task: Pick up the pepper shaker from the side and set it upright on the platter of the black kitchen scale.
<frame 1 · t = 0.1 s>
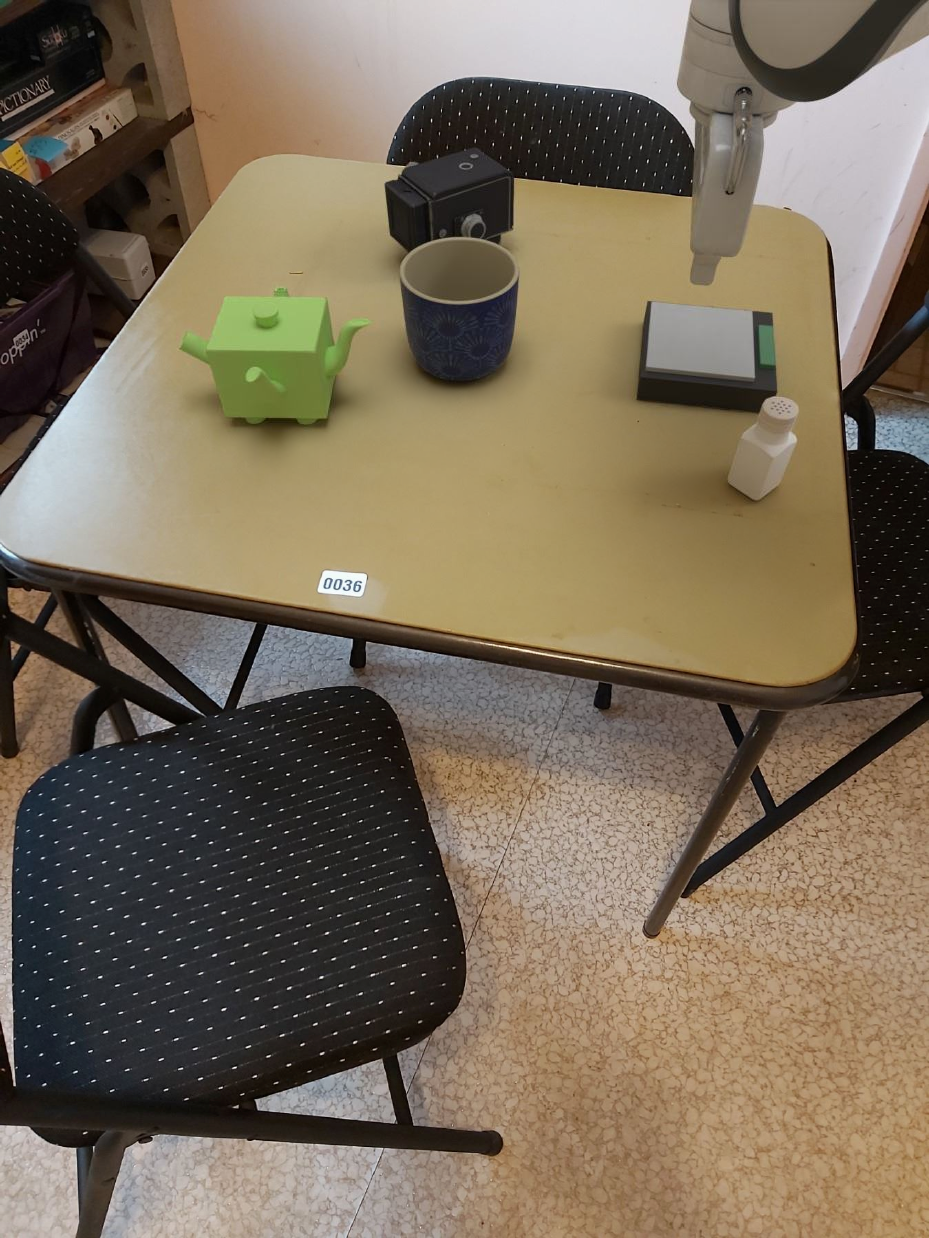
hand: (701, 249, 70), 21 cm above the table, tool pointing down, fingers open, 8 cm apart
planter: (460, 359, 95), on the table
camera: (451, 256, 108), on the table
scale: (703, 366, 94), on the table
pepper shaker: (751, 485, 83), on the table
kettle: (287, 405, 90), on the table
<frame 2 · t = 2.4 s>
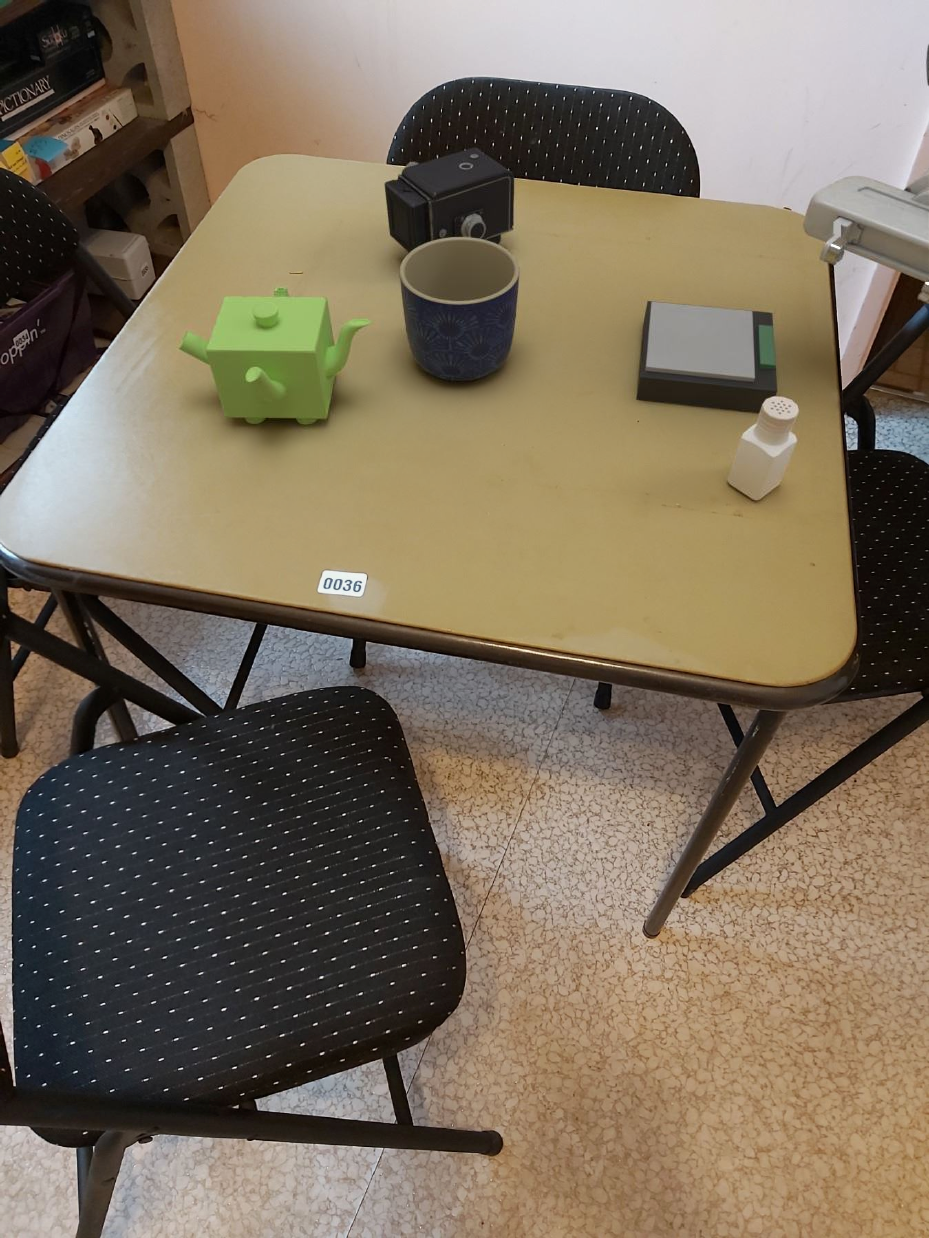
hand: (876, 274, 74), 17 cm above the table, tool horizontal, fingers open, 8 cm apart
nothing on the table moved.
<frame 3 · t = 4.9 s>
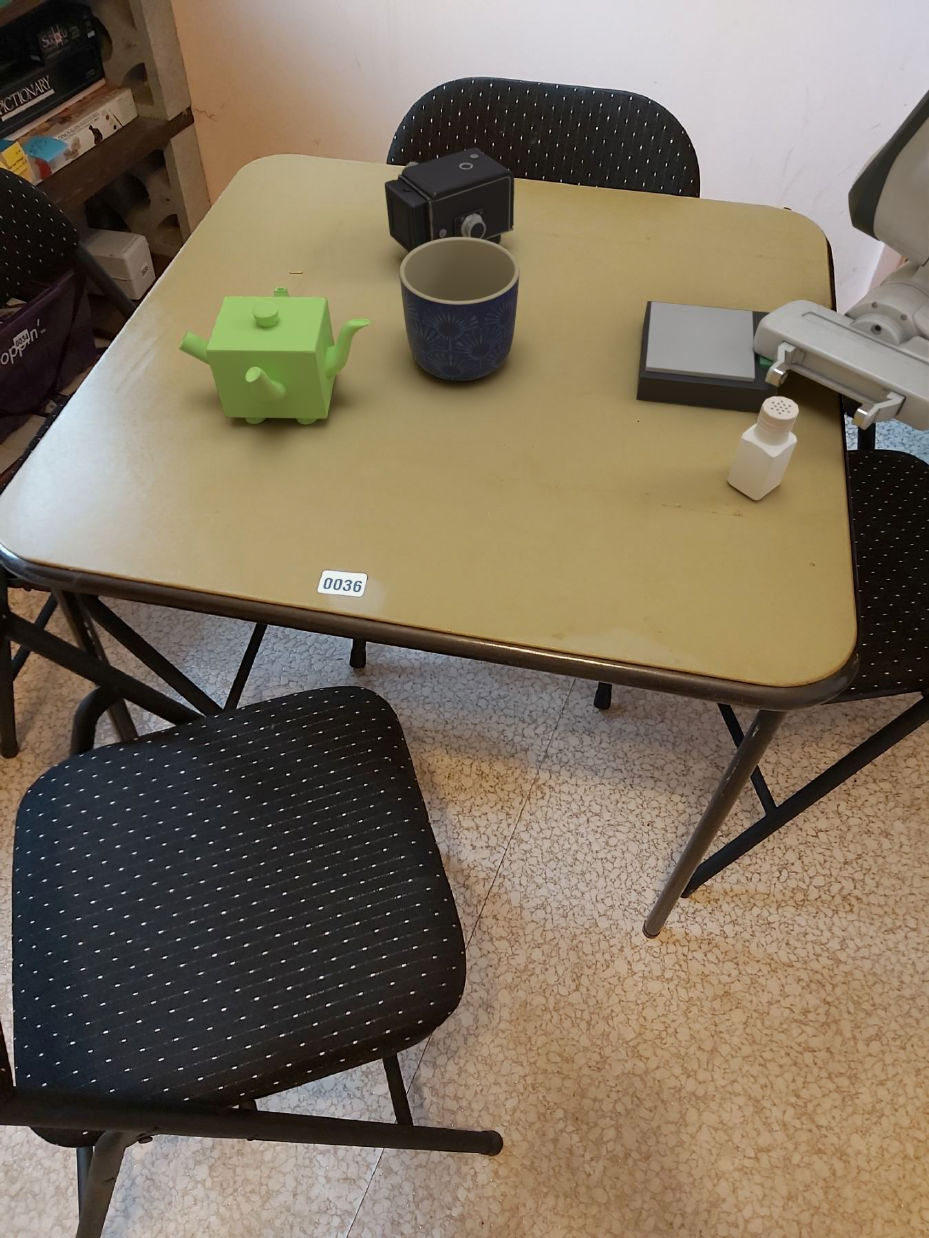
hand: (815, 399, 82), 5 cm above the table, tool horizontal, fingers open, 8 cm apart
nothing on the table moved.
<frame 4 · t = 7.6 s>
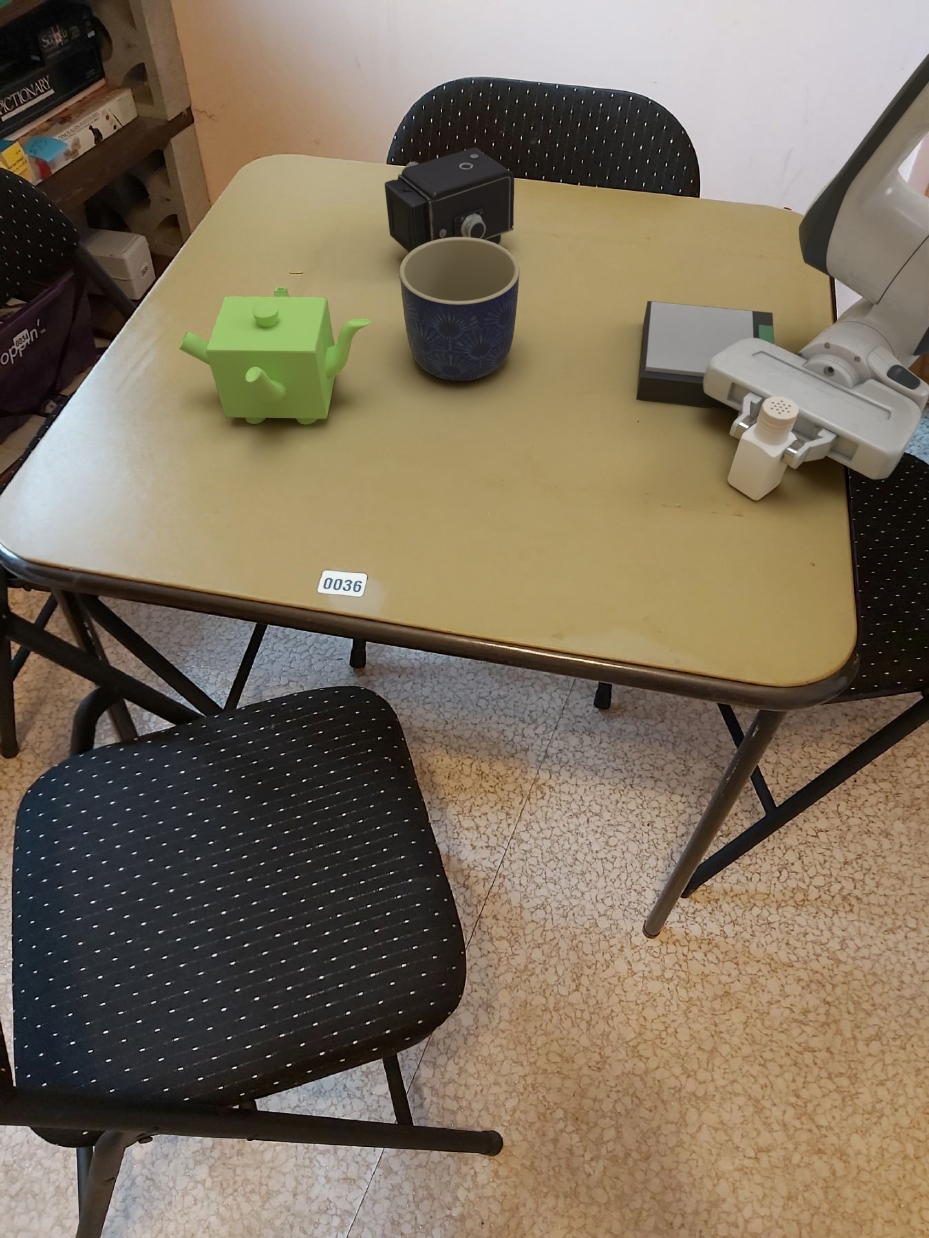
hand: (763, 446, 78), 6 cm above the table, tool horizontal, fingers closed on pepper shaker, 4 cm apart
pepper shaker: (751, 485, 83), on the table, touching gripper
everything else where it was.
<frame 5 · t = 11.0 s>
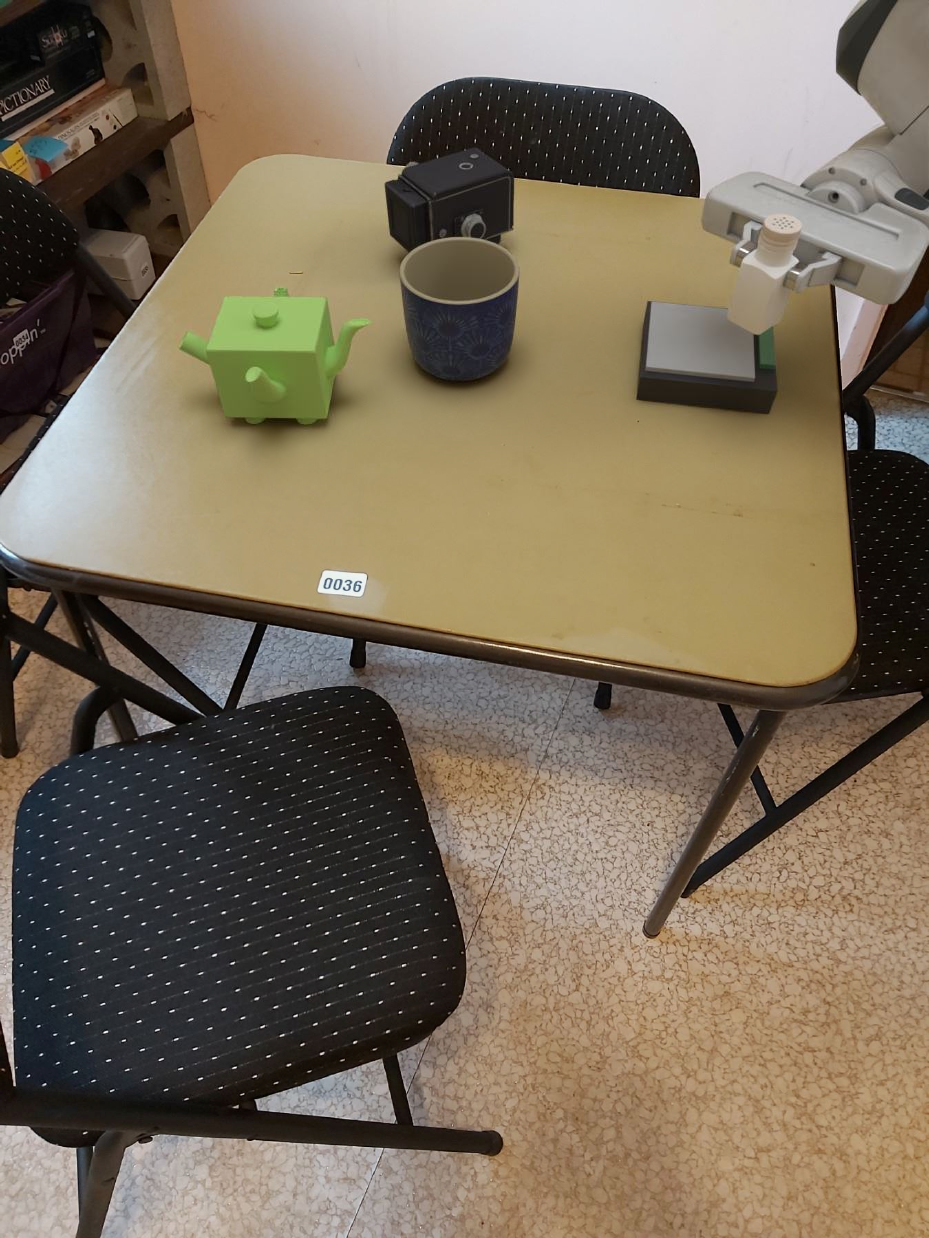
hand: (764, 271, 74), 17 cm above the table, tool horizontal, fingers closed on pepper shaker, 4 cm apart
pepper shaker: (752, 322, 79), point 12 cm above the table, touching gripper
everything else where it was.
when the fingers open (9 cm above the table, at t = 14.7 s): pepper shaker stays where it is, resting on scale.
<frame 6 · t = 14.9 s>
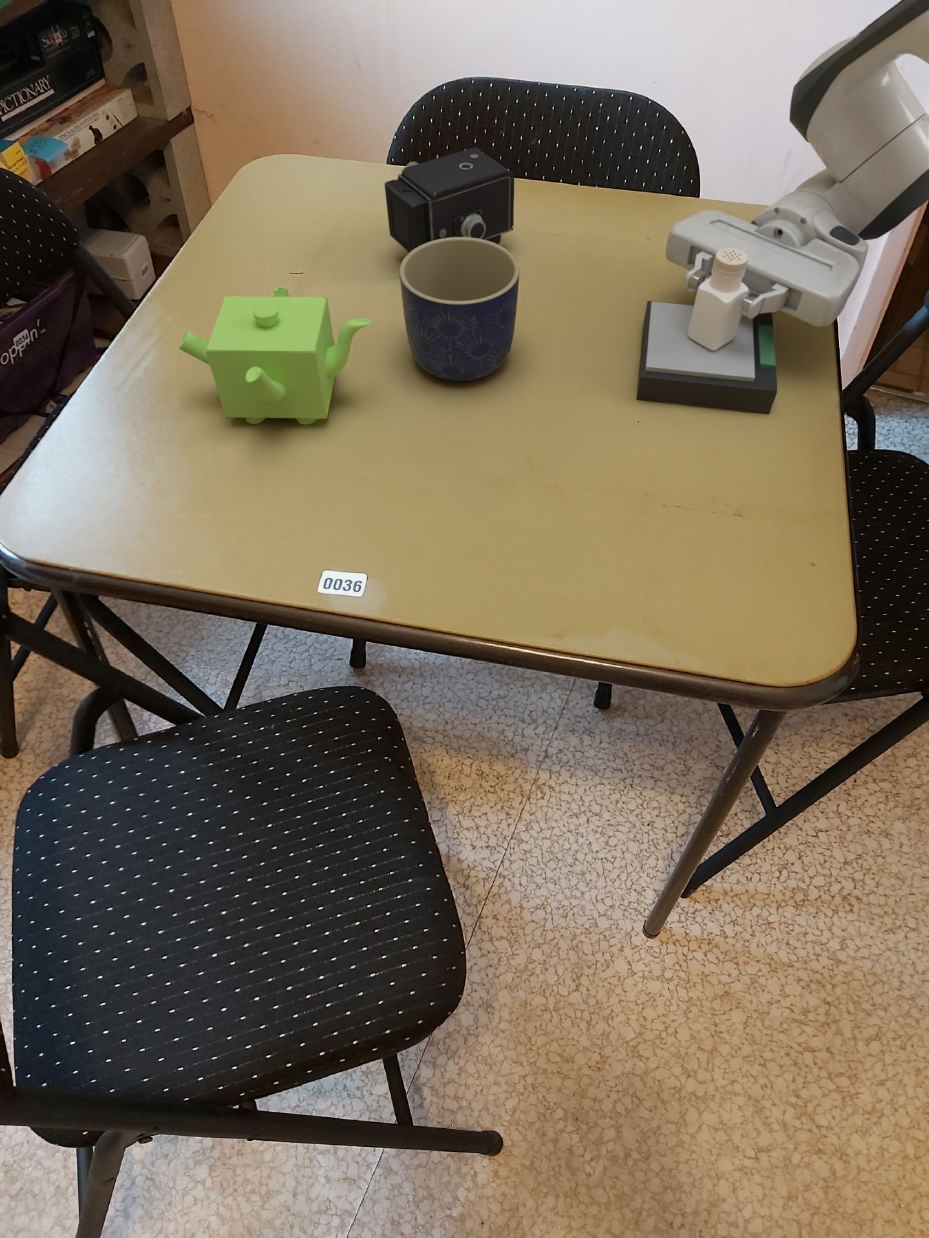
hand: (717, 297, 86), 9 cm above the table, tool horizontal, fingers open, 5 cm apart
pepper shaker: (710, 340, 91), point 3 cm above the table, touching scale
everything else where it was.
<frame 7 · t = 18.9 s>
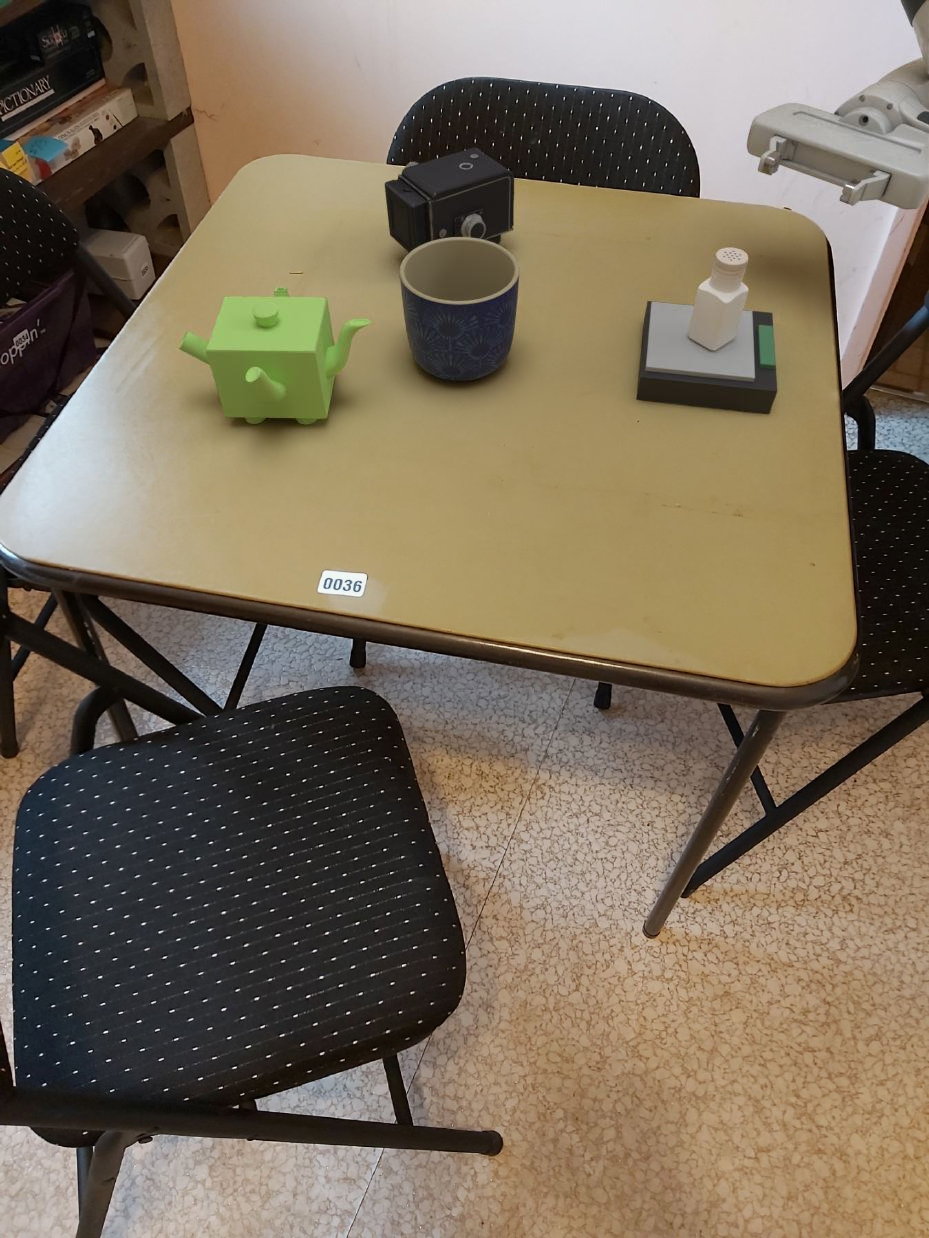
hand: (805, 181, 86), 16 cm above the table, tool horizontal, fingers open, 8 cm apart
nothing on the table moved.
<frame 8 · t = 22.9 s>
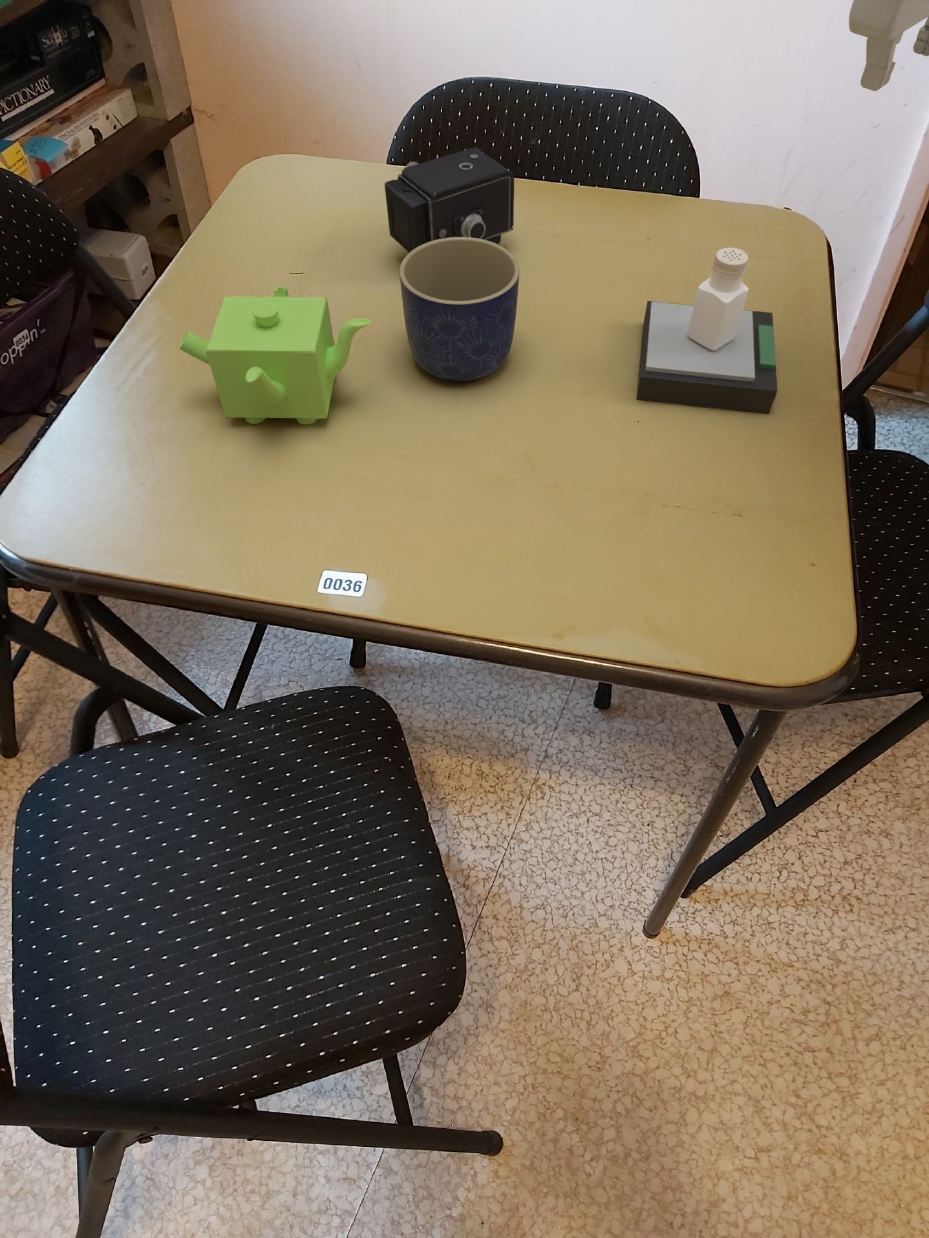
hand: (899, 69, 71), 29 cm above the table, tool pointing down, fingers open, 8 cm apart
nothing on the table moved.
at the end: pepper shaker inside the target area on the scale (1.0 cm from its centre), point 3.4 cm above the scale's base; pepper shaker tilted 0°; the gripper is holding nothing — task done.
